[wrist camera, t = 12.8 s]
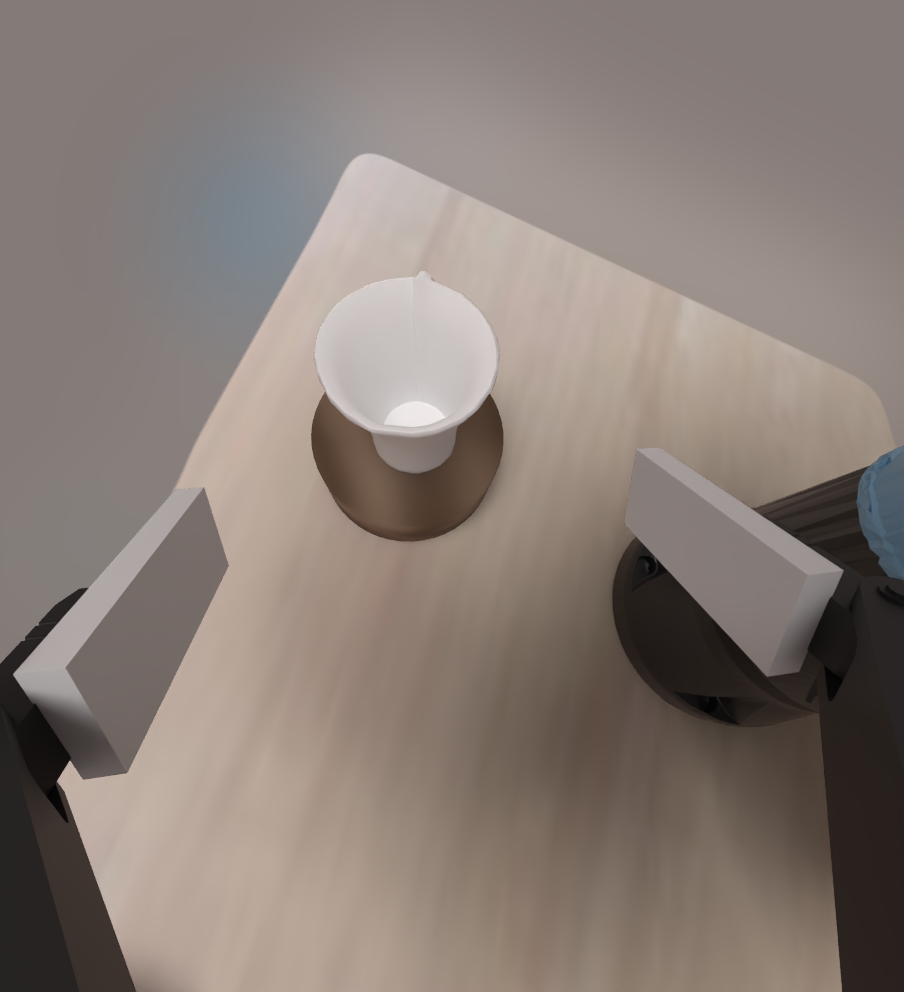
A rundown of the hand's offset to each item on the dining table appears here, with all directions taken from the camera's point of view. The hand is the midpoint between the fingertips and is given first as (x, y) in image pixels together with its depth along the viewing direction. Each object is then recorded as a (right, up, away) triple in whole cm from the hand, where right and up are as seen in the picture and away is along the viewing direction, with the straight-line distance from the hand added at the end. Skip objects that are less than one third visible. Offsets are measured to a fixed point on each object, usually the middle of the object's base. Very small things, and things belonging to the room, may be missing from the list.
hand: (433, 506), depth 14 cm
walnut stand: (-3, +3, +22) cm, 22 cm away
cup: (-2, +5, +17) cm, 18 cm away
